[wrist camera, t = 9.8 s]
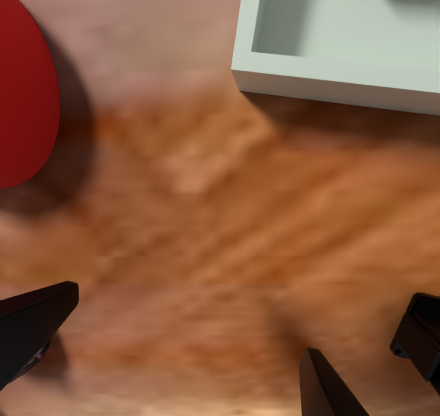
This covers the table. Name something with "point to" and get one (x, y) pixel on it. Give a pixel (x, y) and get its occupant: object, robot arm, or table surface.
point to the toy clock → (25, 96)
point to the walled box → (342, 52)
